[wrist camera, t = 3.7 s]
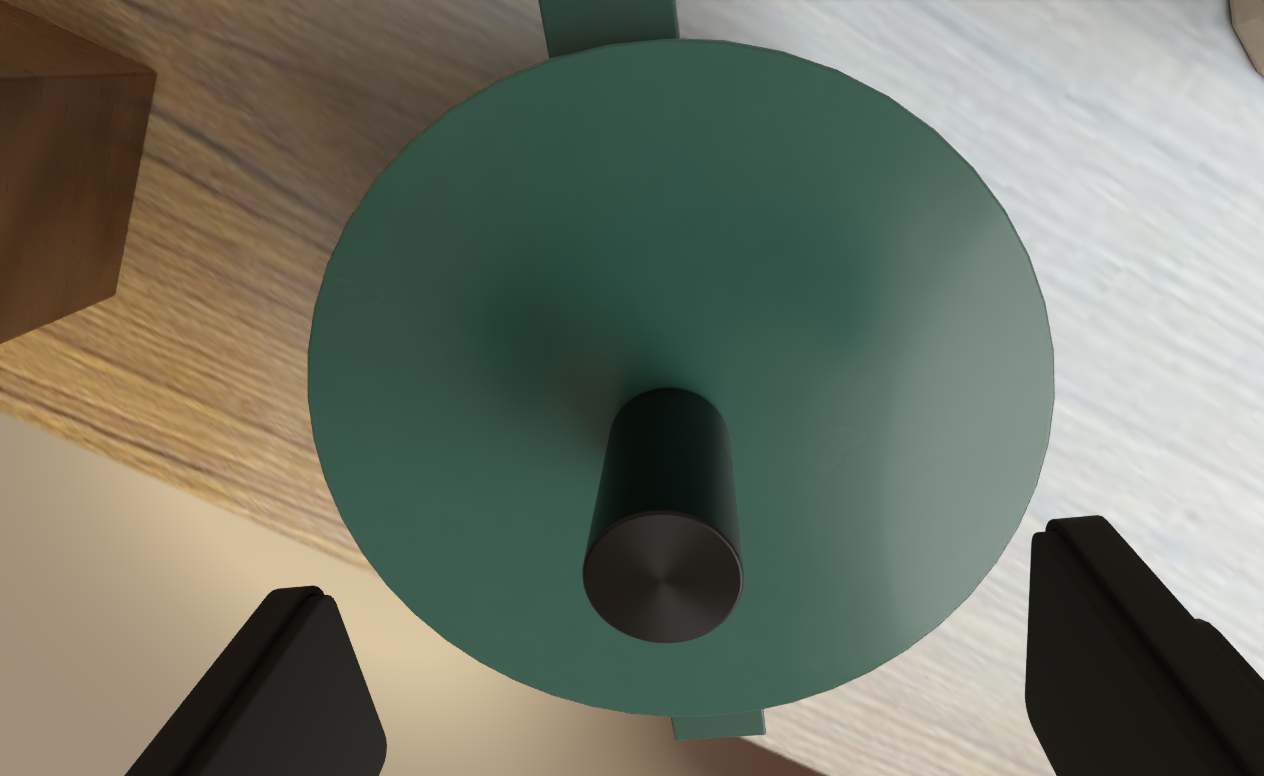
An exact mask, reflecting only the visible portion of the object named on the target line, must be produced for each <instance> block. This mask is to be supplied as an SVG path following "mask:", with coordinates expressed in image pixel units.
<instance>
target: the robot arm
mask: <svg viewBox="0 0 1264 776" xmlns="http://www.w3.org/2000/svg"><path fill="white" fill-rule="evenodd" d="M1025 702H1026V709H1027V713H1028V717H1029V720H1030V723H1031V725H1032V727H1033V730H1034V732H1035V734H1036V736H1037V738H1038V740H1039V742H1040V744H1041V746H1042V748H1043V750H1044V752H1045V754H1046V756H1047V758H1048V760H1049V761H1050V763H1051V765H1052V767H1053V769H1054V771H1055V773H1056V775H1057V776H1264V680H1263V679H1262V678H1261V677H1260V676H1259V674H1258V673H1257V672H1256V671H1255V670H1254V669H1253V668H1252V667H1251V666H1250V665H1249V663H1248V662H1247V661H1246V660H1245V659H1244V658H1243V657H1242V656H1241V655H1240V654H1239V652H1238V651H1237V650H1236V649H1235V648H1234V647H1233V646H1232V645H1231V644H1230V643H1229V641H1228V640H1227V639H1226V638H1225V637H1224V636H1223V635H1222V634H1221V633H1220V632H1219V631H1218V630H1217V629H1216V628H1215V627H1213V626H1212V625H1211V624H1210V623H1209V622H1206V621H1204V620H1201V619H1194V618H1193V617H1192V615H1191V614H1190V613H1189V612H1188V611H1187V610H1186V609H1185V608H1184V606H1183V605H1182V604H1181V603H1180V602H1179V601H1178V600H1177V599H1176V597H1175V596H1174V595H1173V594H1172V593H1171V592H1170V591H1169V590H1168V588H1167V587H1166V586H1165V585H1164V584H1163V583H1162V582H1161V581H1160V579H1159V578H1158V577H1157V576H1156V575H1155V574H1154V573H1153V572H1152V570H1151V569H1150V568H1149V567H1148V566H1147V565H1146V564H1145V562H1144V561H1143V560H1142V559H1141V558H1140V557H1139V556H1138V555H1137V553H1136V552H1135V551H1134V550H1133V549H1132V548H1131V547H1130V546H1129V544H1128V543H1127V542H1126V541H1125V540H1124V539H1123V538H1122V537H1121V535H1120V534H1119V533H1118V532H1117V531H1116V530H1115V529H1114V528H1113V526H1112V525H1111V524H1110V523H1109V522H1108V521H1107V520H1106V519H1105V518H1104V517H1102V516H1098V515H1095V516H1083V517H1072V518H1061V519H1052V520H1050V521H1048V524H1047V526H1046V530H1045V532H1037V533H1035V534H1034V535H1033V537H1032V544H1031V567H1030V590H1029V613H1028V636H1027V659H1026V682H1025ZM386 750H387V744H386V737H385V733H384V730H383V728H382V725H381V722H380V720H379V717H378V714H377V712H376V709H375V706H374V704H373V701H372V698H371V695H370V693H369V690H368V687H367V685H366V682H365V680H364V677H363V674H362V671H361V669H360V666H359V663H358V660H357V658H356V655H355V653H354V650H353V647H352V645H351V642H350V639H349V636H348V634H347V631H346V628H345V626H344V623H343V620H342V618H341V615H340V612H339V610H338V607H337V604H336V602H335V600H334V598H332V597H331V596H329V595H324V593H323V591H322V590H321V589H320V588H319V587H316V586H303V587H292V588H280V589H276V590H273V591H272V592H270V593H269V594H268V595H267V596H266V598H265V599H264V600H263V601H262V603H261V604H260V605H259V607H258V608H257V609H256V610H255V612H254V613H253V614H252V615H251V617H250V618H249V619H248V620H247V622H246V623H245V624H244V626H243V627H242V628H241V629H240V630H239V632H238V633H237V634H236V635H235V637H234V638H233V639H232V641H231V642H230V643H229V644H228V646H227V647H226V648H225V649H224V651H223V652H222V653H221V654H220V656H219V657H218V658H217V659H216V661H215V662H214V663H213V665H212V666H211V667H210V668H209V670H208V671H207V672H206V673H205V675H204V676H203V677H202V678H201V680H200V681H199V682H198V684H197V685H196V686H195V687H194V688H193V690H192V691H191V692H190V694H189V695H188V696H187V697H186V699H185V700H184V701H183V702H182V704H181V705H180V706H179V708H178V709H177V710H176V711H175V713H174V714H173V715H172V716H171V717H170V719H169V720H168V721H167V723H166V724H165V725H164V726H163V728H162V729H161V730H160V731H159V733H158V734H157V735H156V736H155V738H154V739H153V740H152V742H151V743H150V744H149V745H148V747H147V748H146V749H145V750H144V752H143V753H142V754H141V755H140V757H139V758H138V759H137V760H136V762H135V763H134V764H133V765H132V767H131V768H130V770H128V772H127V773H126V774H125V776H379V774H380V772H381V769H382V767H383V764H384V762H385V758H386Z"/></svg>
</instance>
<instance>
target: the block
mask: <svg viewBox="0 0 1264 776" xmlns="http://www.w3.org/2000/svg"><path fill="white" fill-rule="evenodd" d="M156 76H157V75H156V73H155V72H154V71H152V70H150V69H147V68H145V67H143V66H141V65H139V64H137V63H135V62H132V61H130V60H128V59H126V58H124V57H122V56H120V55H117V54H115V53H113V52H111V51H109V50H107V49H105V48H102V47H100V46H98V45H96V44H94V43H92V42H90V41H88V40H85V39H83V38H81V37H79V36H77V35H75V34H73V33H70V32H68V31H66V30H64V29H62V28H60V27H58V26H55V25H53V24H51V23H49V22H47V21H45V20H43V19H40V18H38V17H36V16H34V15H32V14H30V13H28V12H26V11H23V10H21V9H19V8H17V7H15V6H13V5H11V4H8V3H6V2H4V1H2V0H0V344H2V343H4V342H6V341H9V340H11V339H13V338H16V337H18V336H21V335H23V334H25V333H28V332H30V331H32V330H35V329H37V328H39V327H42V326H44V325H46V324H49V323H51V322H54V321H56V320H58V319H61V318H63V317H65V316H68V315H70V314H72V313H75V312H77V311H79V310H82V309H84V308H86V307H89V306H91V305H94V304H96V303H98V302H101V301H103V300H105V299H108V298H110V297H112V296H114V295H115V292H116V287H117V281H118V276H119V271H120V265H121V260H122V255H123V250H124V244H125V239H126V234H127V228H128V223H129V218H130V213H131V207H132V202H133V197H134V192H135V186H136V181H137V176H138V170H139V165H140V160H141V155H142V149H143V144H144V139H145V134H146V128H147V123H148V118H149V112H150V107H151V102H152V97H153V91H154V86H155V81H156Z"/></svg>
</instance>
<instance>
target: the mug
mask: <svg viewBox="0 0 1264 776" xmlns="http://www.w3.org/2000/svg"><path fill="white" fill-rule="evenodd" d="M1230 8H1231V17H1232V25H1233V27H1234V29H1235V31H1236V33H1237V35H1238V37H1239V39H1240V40H1241V42H1242V44H1243V46H1244V48H1245V50H1246V52H1247V53H1248V55H1249V57H1250V59H1251V61H1252V63H1253V65H1254V66H1255V68H1256V70H1257V72H1259V73H1260V74H1261V75H1262V76H1264V0H1230Z"/></svg>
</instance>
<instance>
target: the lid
mask: <svg viewBox="0 0 1264 776" xmlns="http://www.w3.org/2000/svg"><path fill="white" fill-rule="evenodd" d="M308 403H309V410H310V417H311V424H312V431H313V438H314V442H315V446H316V449H317V453H318V456H319V460H320V463H321V467H322V471H323V474H324V478H325V481H326V483H327V485H328V488H329V490H330V492H331V495H332V497H333V499H334V502H335V504H336V506H337V509H338V511H339V513H340V516H341V518H342V520H343V521H344V523H345V525H346V526H347V528H348V530H349V531H350V533H351V535H352V537H353V538H354V540H355V542H356V543H357V545H358V547H359V548H360V550H361V552H362V553H363V555H364V556H365V557H366V559H367V560H368V561H369V563H370V564H371V565H372V566H373V568H374V569H375V570H376V572H377V573H378V574H379V576H380V577H381V578H382V580H383V581H384V582H385V583H386V585H387V586H388V587H389V588H390V589H391V590H392V591H393V592H394V593H395V594H396V595H397V596H398V597H399V598H400V599H401V600H402V601H403V602H404V604H406V606H407V607H408V608H409V609H410V610H411V611H412V612H413V613H414V614H415V615H416V616H418V617H419V618H420V619H422V621H424V622H425V623H426V624H427V625H428V626H430V627H431V628H432V629H433V630H434V631H436V632H437V633H438V634H439V635H441V636H442V637H443V638H444V639H445V640H447V641H448V642H450V643H451V644H453V645H454V646H456V647H457V648H459V649H461V650H462V651H463V652H465V653H467V654H468V655H469V656H471V657H473V658H474V659H476V660H477V661H479V662H480V663H482V664H484V665H486V666H488V667H490V668H492V669H494V670H496V671H498V672H499V673H501V674H503V675H505V676H507V677H509V678H511V679H513V680H515V681H518V682H520V683H522V684H525V685H527V686H530V687H533V688H535V689H538V690H540V691H543V692H545V693H548V694H550V695H553V696H557V697H560V698H563V699H567V700H570V701H574V702H578V703H581V704H585V705H588V706H592V707H597V708H603V709H609V710H614V711H620V712H625V713H631V714H642V715H655V716H668V717H689V716H717V715H725V714H734V713H742V712H751V711H756V710H761V709H765V708H770V707H774V706H779V705H783V704H788V703H792V702H795V701H798V700H801V699H804V698H807V697H810V696H813V695H816V694H819V693H822V692H825V691H828V690H831V689H834V688H836V687H838V686H840V685H842V684H845V683H847V682H849V681H851V680H853V679H856V678H858V677H860V676H862V675H864V674H867V673H869V672H871V671H872V670H874V669H876V668H877V667H879V666H881V665H882V664H884V663H886V662H888V661H889V660H891V659H893V658H894V657H896V656H898V655H899V654H901V653H903V652H904V651H906V650H907V649H909V648H910V647H911V646H912V645H914V644H915V643H916V642H918V641H919V640H920V639H922V638H923V637H924V636H926V635H927V634H928V633H930V632H931V631H932V630H934V629H935V628H936V627H938V626H939V625H940V624H941V623H942V622H943V621H944V620H945V619H946V618H947V617H948V616H949V615H950V614H951V613H952V612H953V611H954V610H955V609H956V608H957V607H959V606H960V605H961V604H962V603H963V602H964V601H965V600H966V599H967V598H968V597H969V596H970V595H971V593H972V592H973V591H974V590H975V588H976V587H977V586H978V585H979V583H980V582H981V581H982V580H983V579H984V577H985V576H986V575H987V574H988V572H989V571H990V570H991V569H992V567H993V566H994V565H995V564H996V562H997V561H998V559H999V557H1000V556H1001V554H1002V553H1003V551H1004V549H1005V548H1006V546H1007V544H1008V543H1009V541H1010V540H1011V538H1012V536H1013V535H1014V533H1015V531H1016V530H1017V528H1018V527H1019V524H1020V522H1021V520H1022V518H1023V515H1024V513H1025V511H1026V509H1027V506H1028V504H1029V502H1030V499H1031V497H1032V495H1033V493H1034V490H1035V488H1036V486H1037V482H1038V479H1039V475H1040V472H1041V468H1042V465H1043V461H1044V458H1045V454H1046V450H1047V447H1048V443H1049V436H1050V428H1051V421H1052V413H1053V405H1054V350H1053V344H1052V338H1051V333H1050V327H1049V322H1048V316H1047V310H1046V305H1045V301H1044V298H1043V295H1042V292H1041V289H1040V286H1039V283H1038V280H1037V277H1036V274H1035V271H1034V268H1033V266H1032V263H1031V260H1030V257H1029V254H1028V253H1027V251H1026V249H1025V247H1024V245H1023V243H1022V241H1021V239H1020V237H1019V236H1018V234H1017V232H1016V230H1015V228H1014V226H1013V224H1012V222H1011V220H1010V219H1009V217H1008V215H1007V213H1006V211H1005V209H1004V208H1003V207H1002V205H1001V204H1000V203H999V201H998V200H997V199H996V197H995V196H994V195H993V193H992V192H991V191H990V189H989V188H988V187H987V185H986V184H985V183H984V181H983V180H982V179H981V177H980V176H979V175H978V173H977V172H976V171H975V169H974V168H973V167H972V166H971V165H970V164H969V163H968V162H967V161H966V160H965V159H964V158H963V157H962V156H961V155H960V154H959V153H958V152H957V151H956V150H955V149H954V148H953V147H952V146H951V145H950V144H949V143H948V142H947V141H946V140H945V139H944V138H943V137H942V136H941V135H940V134H939V133H938V132H936V131H935V130H934V129H933V128H932V127H930V126H929V125H928V124H926V123H925V122H923V121H922V120H921V119H919V118H918V117H916V116H915V115H914V114H912V113H911V112H910V111H908V110H907V109H905V108H904V107H903V106H901V105H900V104H898V103H897V102H896V101H894V100H893V99H891V98H890V97H889V96H887V95H885V94H883V93H881V92H879V91H877V90H875V89H873V88H871V87H869V86H867V85H865V84H863V83H862V82H860V81H858V80H856V79H854V78H852V77H850V76H848V75H846V74H844V73H842V72H840V71H838V70H836V69H833V68H830V67H827V66H824V65H821V64H818V63H815V62H812V61H809V60H806V59H803V58H801V57H798V56H795V55H792V54H789V53H786V52H783V51H778V50H773V49H768V48H762V47H757V46H751V45H746V44H741V43H735V42H730V41H724V40H701V39H677V38H660V39H651V40H641V41H631V42H622V43H612V44H605V45H601V46H597V47H593V48H589V49H585V50H581V51H577V52H573V53H569V54H565V55H561V56H557V57H553V58H550V59H547V60H545V61H542V62H540V63H538V64H535V65H533V66H530V67H528V68H525V69H523V70H521V71H518V72H516V73H513V74H511V75H509V76H506V77H504V78H501V79H499V80H497V81H495V82H494V83H492V84H490V85H489V86H487V87H485V88H484V89H482V90H480V91H478V92H477V93H475V94H473V95H472V96H470V97H468V98H467V99H465V100H463V101H462V102H460V103H458V104H457V105H455V106H453V107H452V108H450V109H449V110H448V111H447V112H445V113H444V114H443V115H442V116H440V117H439V118H438V119H437V120H435V121H434V122H433V123H432V124H431V125H429V126H428V127H427V128H426V129H424V130H423V131H422V132H421V133H420V134H418V135H417V136H416V137H415V138H413V139H412V140H411V141H410V142H409V143H408V144H407V145H406V146H405V147H404V148H403V149H402V151H401V152H400V153H399V154H398V155H397V156H396V157H395V158H394V159H393V160H392V162H391V163H390V164H389V165H388V166H387V167H386V168H385V169H384V170H383V171H382V173H381V174H380V175H379V176H378V177H377V178H376V179H375V181H374V182H373V184H372V185H371V187H370V188H369V190H368V191H367V193H366V194H365V196H364V197H363V199H362V200H361V202H360V203H359V204H358V206H357V207H356V209H355V210H354V212H353V213H352V215H351V216H350V218H349V219H348V221H347V223H346V225H345V228H344V230H343V232H342V234H341V236H340V238H339V240H338V242H337V245H336V247H335V249H334V251H333V253H332V255H331V257H330V259H329V262H328V264H327V267H326V270H325V274H324V277H323V280H322V284H321V287H320V290H319V294H318V297H317V300H316V304H315V307H314V313H313V320H312V327H311V334H310V341H309V348H308Z"/></svg>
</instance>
